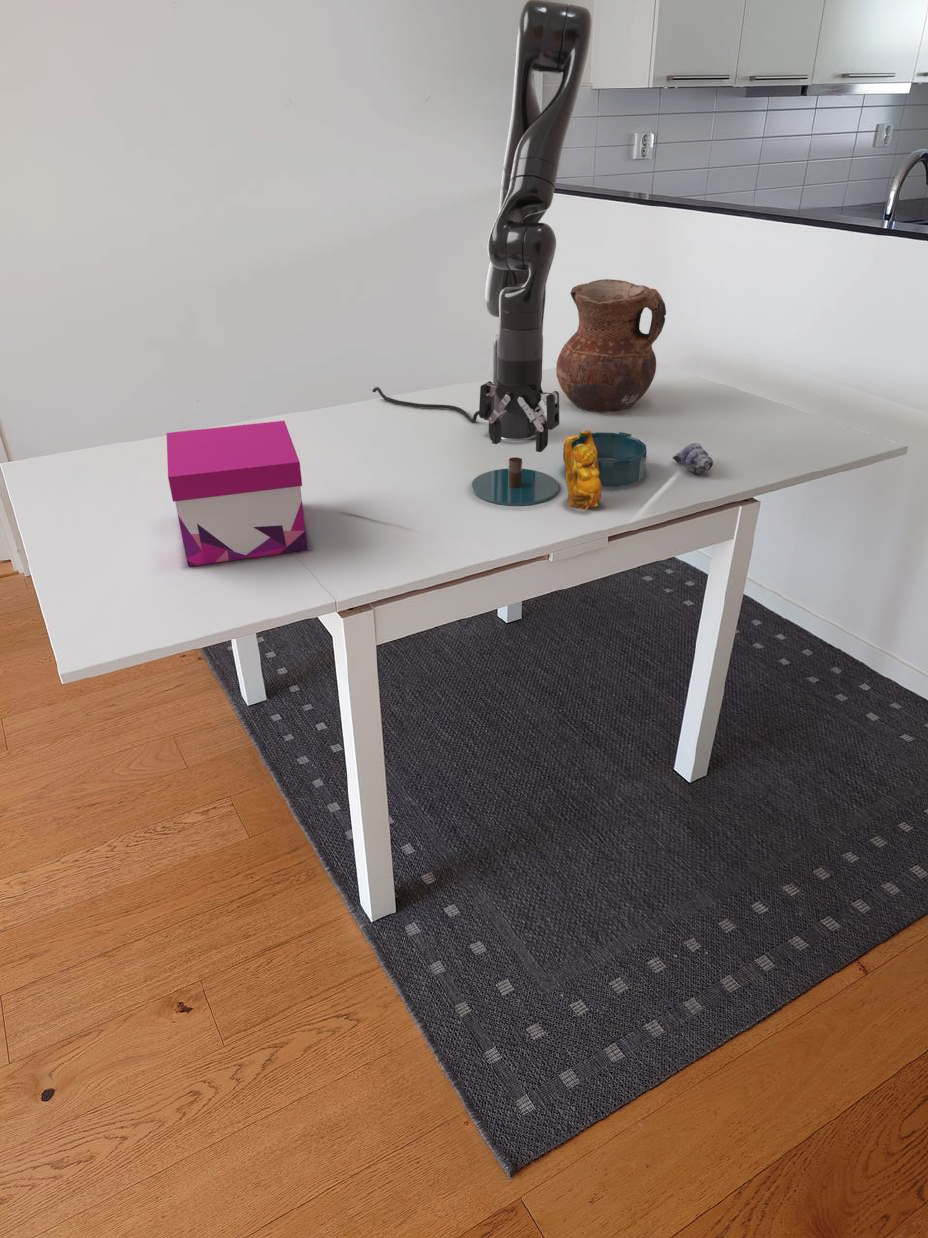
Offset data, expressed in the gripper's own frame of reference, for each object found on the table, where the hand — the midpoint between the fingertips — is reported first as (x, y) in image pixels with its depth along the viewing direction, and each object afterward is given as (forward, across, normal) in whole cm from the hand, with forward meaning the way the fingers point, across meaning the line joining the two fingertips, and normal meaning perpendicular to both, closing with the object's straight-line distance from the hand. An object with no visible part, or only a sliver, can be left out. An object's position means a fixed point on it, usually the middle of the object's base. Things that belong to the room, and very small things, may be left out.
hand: (518, 446), depth 155 cm
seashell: (+9, -25, -25) cm, 36 cm away
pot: (+8, -11, -15) cm, 20 cm away
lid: (+8, 0, 0) cm, 8 cm away
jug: (+8, +5, -53) cm, 54 cm away
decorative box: (+9, +32, +37) cm, 49 cm away
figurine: (+9, -13, 0) cm, 15 cm away
